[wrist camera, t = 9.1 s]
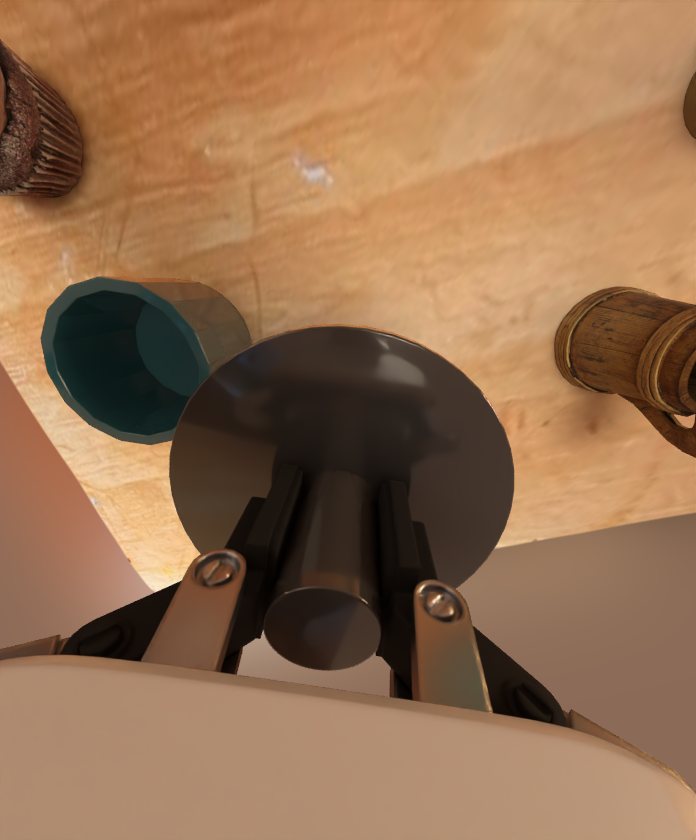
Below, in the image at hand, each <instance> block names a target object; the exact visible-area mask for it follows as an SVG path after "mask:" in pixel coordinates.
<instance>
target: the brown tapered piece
mask: <svg viewBox="0 0 696 840" xmlns="http://www.w3.org/2000/svg"><path fill="white" fill-rule="evenodd" d="M684 117H685V123H686V127H687V128H688V130H689V131H690V133H691V135H692V136H693V137H694V138H696V73H695V74H694V76H693V77H692V80H691V82H690V85H689V88H688V90H687V93H686V96H685V104H684Z"/></svg>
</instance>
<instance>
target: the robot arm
mask: <svg viewBox="0 0 696 840" xmlns="http://www.w3.org/2000/svg"><path fill="white" fill-rule="evenodd" d="M302 476H303V471H302V470H298V466H295V465H289V464H282V465H281V467H280V469H279V472H278V474H277V476H276V478H275V480H274V482H273V484H272V487H271V489H270V491H269V493H268V495H267V497H266V498H261V497H255V496H253V497H252V498H251V499H250V501H249V503H248V504H247V506H246V508H245V510H244V512H243V514H242V516H241V518H240V519H239V521H238V523H237V525H236V527H235V529H234V531H233V532H232V534H231V536H230V538H229V540H228V542H227V544H226V546H225V547H224V548H219V549H213V550H209V551H207V552H205V553H203V554H201V555H199V556H198V557H197V558H196V559H194V560H193V562H192V563H191V564H190V566H189V568H188V570H187V571H186V573H185V575H184V577H183V579H182V581H180V582H178V583H175V584H173V585H171V586H169V587H166V588H164V589H162V590H160V591H157V592H155V593H153V594H151V595H149V596H146V597H144V598H142V599H140V600H137V601H135V602H133V603H131V604H128V605H126V606H124V607H122V608H120V609H117V610H115V611H113V612H110V613H108V614H106V615H104V616H102V617H100V618H97V619H95V620H93V621H91V622H90V623H88V624H86V625H84V626H83V627H82V628H80V629H79V630H78V631H77V632H75V633H74V634H73V635H72V636H71V637H69V638H65V639H61V635H56V636H52V637H48V638H44V639H39V640H35V641H31V642H27V643H24V644H19V645H15V646H11V647H7V648H3V649H0V840H696V791H695V790H694V789H693V788H692V786H690V784H688V782H687V781H686V780H684V778H683V777H682V776H681V775H679V774H678V773H676V772H675V771H674V770H672V769H671V768H670V767H668V766H667V765H665V764H664V763H662V762H660V761H658V760H656V759H655V758H653V757H652V756H650V755H648V754H647V753H645V752H643V751H641V750H640V749H638V748H636V747H634V746H633V745H631V744H629V743H628V742H626V741H624V740H623V739H621V738H619V737H618V736H616V735H614V734H612V733H611V732H609V731H607V730H606V729H604V728H602V727H601V726H599V725H597V724H595V723H594V722H592V721H590V720H589V719H587V718H585V717H583V716H582V715H580V714H578V713H577V712H575V711H573V710H570V712H569V713H567V712H565V711H563V710H562V709H561V707H560V705H559V703H558V702H557V701H556V699H555V698H554V696H553V695H552V694H551V693H550V692H549V691H548V690H547V689H546V688H545V687H544V686H543V685H542V684H541V683H540V682H538V681H537V680H536V679H535V678H534V677H533V676H532V675H530V674H529V673H528V672H527V671H525V670H524V669H523V668H522V667H521V666H520V665H519V664H517V663H516V662H515V661H514V660H513V659H512V658H510V657H509V656H508V655H507V654H506V653H504V652H503V651H502V650H501V649H500V648H499V647H497V646H496V645H495V644H494V643H493V642H491V641H490V640H489V639H488V638H487V637H486V636H484V635H483V634H482V633H481V632H480V631H479V630H477V629H476V628H475V627H474V626H473V625H472V621H471V617H470V612H469V608H468V606H467V603H466V601H465V599H464V598H463V596H462V595H461V594H460V593H459V592H458V591H457V590H456V589H455V588H454V587H452V586H450V585H449V584H447V583H445V582H442V581H439V580H438V578H437V574H436V570H435V566H434V562H433V558H432V554H431V550H430V545H429V541H428V537H427V533H426V529H425V526H424V523H423V522H419V521H412V519H411V513H410V508H409V503H408V498H407V493H406V488H405V483H404V482H400V481H393V480H388V483H387V484H386V483H382V485H381V490H380V494H379V499H378V504H377V525H378V544H379V563H380V582H381V601H382V620H383V636H382V640H381V643H380V646H379V647H378V649H377V651H376V656H380V657H382V658H383V659H384V660H385V661H386V662H387V663H388V665H389V666H390V667H391V670H390V697H385V696H378V695H372V694H365V693H359V692H352V691H345V690H338V689H331V688H325V687H318V686H311V685H304V684H297V683H290V682H283V681H276V680H269V679H262V678H255V677H248V676H241V675H237V671H238V667H239V663H240V659H241V655H242V649H243V646H245V645H247V644H248V643H250V642H251V641H253V640H254V639H255V638H258V639H260V638H261V635H262V631H263V617H264V613H265V610H266V607H267V604H268V600H269V597H270V594H271V591H272V587H273V585H274V581H275V578H276V575H277V572H278V568H279V565H280V562H281V558H282V555H283V552H284V549H285V545H286V542H287V539H288V536H289V532H290V529H291V526H292V522H293V519H294V516H295V513H296V509H297V506H298V503H299V500H300V494H301V485H302Z"/></svg>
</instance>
